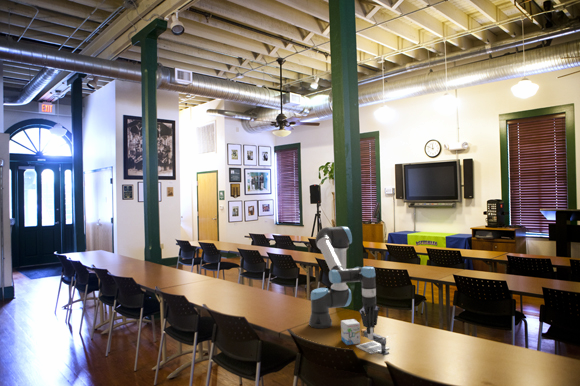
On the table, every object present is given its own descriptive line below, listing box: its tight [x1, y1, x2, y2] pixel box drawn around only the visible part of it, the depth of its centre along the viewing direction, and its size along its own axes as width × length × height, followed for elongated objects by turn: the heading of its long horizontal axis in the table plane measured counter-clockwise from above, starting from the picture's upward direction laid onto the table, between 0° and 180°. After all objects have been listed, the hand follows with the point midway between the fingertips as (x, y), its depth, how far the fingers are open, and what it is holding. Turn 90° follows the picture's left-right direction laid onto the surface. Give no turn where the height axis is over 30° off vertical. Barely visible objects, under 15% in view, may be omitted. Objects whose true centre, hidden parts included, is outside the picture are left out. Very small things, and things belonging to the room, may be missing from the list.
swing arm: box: [360, 328, 387, 345], centre depth 212 cm, size 18×3×3 cm, turn 29°
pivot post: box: [377, 344, 390, 356], centre depth 205 cm, size 4×4×5 cm
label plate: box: [355, 340, 391, 355], centre depth 213 cm, size 13×13×1 cm
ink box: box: [340, 318, 361, 346], centre depth 224 cm, size 9×8×12 cm
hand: (370, 339), depth 210 cm, fingers closed
